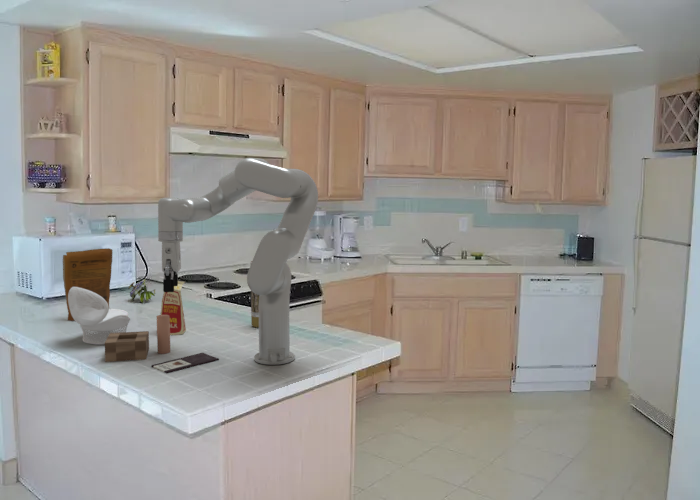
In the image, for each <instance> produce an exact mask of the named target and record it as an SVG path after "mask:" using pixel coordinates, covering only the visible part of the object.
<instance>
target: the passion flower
mask: <svg viewBox="0 0 700 500" xmlns="http://www.w3.org/2000/svg"><path fill="white" fill-rule="evenodd" d="M134 284H135V282H132V283H130V284H129V286H128V288H127V289H128V290H129V289H131V290H130V292H129V297H130V298H131V300H130V302H134V301H135V298H136V297H137V295H138V296H139V300H140V302H141V304H144V301H145V302H148V301H151V298H152V296H153V297H155V294H156V289H153V290H150V291H148V289H147V286H146V278H145V279H143V280H141V281H139V282H138V283H137V284H135V286H134Z"/></svg>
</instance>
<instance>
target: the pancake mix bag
mask: <svg viewBox="0 0 700 500" xmlns="http://www.w3.org/2000/svg"><path fill="white" fill-rule="evenodd" d="M65 253H66V254H63V255H62V279H63V287H64V293H65V301H66V303H65V304H66V307H67V313H68V314H67V321H69V322H70V321H71V322H76V321H75V320H74V319H73V317H72V315H71V312H70V309H69V303H68V293H69V290H70V289H71V288H72V287H79V288H83V289H87V290H89V291H92V292H94V293H96V294H98V295H100V296H101V297H102V298H104V299H105V300H106V302H107V303H108V306H109V307H110V296H111V294H110V293H111V291H110V290H111V287H110V286H111V279H112V265H113V249H111V248H109V247H108V248H107V247H106V248H94V249H93V248H91V249H86V250H75V251H67V252H65ZM87 294H88V293H86V294H85V295H87ZM78 295H79V293H78ZM78 295H77V296H78ZM87 296H88V295H87ZM89 296H90V295H89ZM94 296H95V295H94ZM94 296H93V297H94ZM79 297H80V295H79ZM93 297H92V299H93ZM83 298H84V297H83ZM79 299H80V298H79ZM88 299H89V298H88ZM90 300H91V298H90ZM93 300H94V299H93ZM96 300H98V299H97V298H96ZM99 300H101V299H99ZM81 301H82V296H81ZM84 301H86V300H84ZM88 302H89V303H90V301H88ZM99 302H100V301H98V303H99ZM101 302H102V300H101ZM79 303H80V302H79ZM96 303H97V302H96ZM77 304H78V303H77ZM82 304H83V303H82ZM85 304H86V303H85ZM91 304H92V303H91ZM93 304H94V303H93ZM78 305H79V304H78ZM100 305H101V304H100ZM103 305H104V304H103ZM82 306H84V305H82ZM85 306H87V305H85ZM88 306H89V305H88ZM88 306H87V307H88ZM92 306H93V305H92ZM98 306H99V304H98ZM98 306H97V308H98ZM77 307H78V306H77ZM94 307H95V306H94ZM94 307H93V308H94ZM103 307H104V306H103ZM80 308H82V307H80ZM90 308H91V307H90ZM95 308H96V307H95ZM82 309H83V308H82ZM100 309H101V308H100V307H99V309H98V310H100ZM102 309H104V308H102ZM77 311H78V310H77ZM88 312H89V311H88Z"/></svg>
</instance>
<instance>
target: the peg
mask: <svg viewBox="0 0 700 500" xmlns="http://www.w3.org/2000/svg"><path fill="white" fill-rule="evenodd" d="M156 334H157V335H156V341H157V343H156V345H157V353H158V354H161V355H165V354H166V355H167V354H170V353H171V351H172V350H171V335H170V318H169V315H161V314H159V315H158V314H157V315H156Z"/></svg>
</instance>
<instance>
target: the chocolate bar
mask: <svg viewBox="0 0 700 500" xmlns="http://www.w3.org/2000/svg"><path fill="white" fill-rule="evenodd" d="M219 360H220V359H219V357H216V356H214V355H210V354H207V353H205V352H200V353H195V354H192V355H188V356H183V357H179V358H175V359H172V360H171V359H170V360H166V361H163V362H157V363H154V364H151V365H150V367H151V368H153V369H155V370H157V371H160V372H162V373H164V374H171V373H174V372H177V371H178V372H179V371H182V370H186V369H190V368H193V367H198V366H201V365H206V364H210V363H213V362H219Z"/></svg>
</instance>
